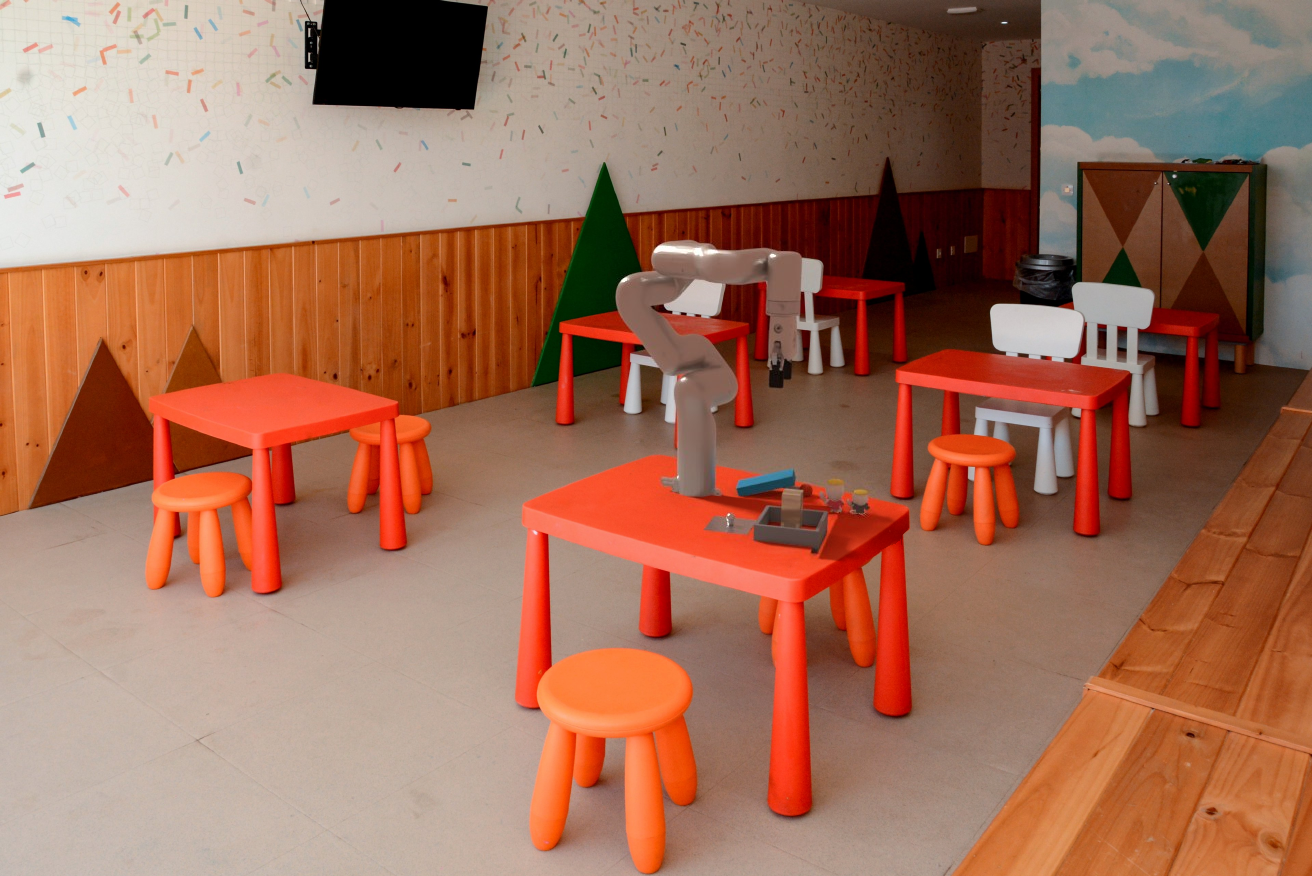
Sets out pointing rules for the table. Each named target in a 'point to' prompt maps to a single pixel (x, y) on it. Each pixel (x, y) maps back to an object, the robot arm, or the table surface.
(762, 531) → the bin
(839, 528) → the table surface
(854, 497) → the toy figures
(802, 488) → the lever
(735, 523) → the square lid with knob
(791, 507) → the strut
